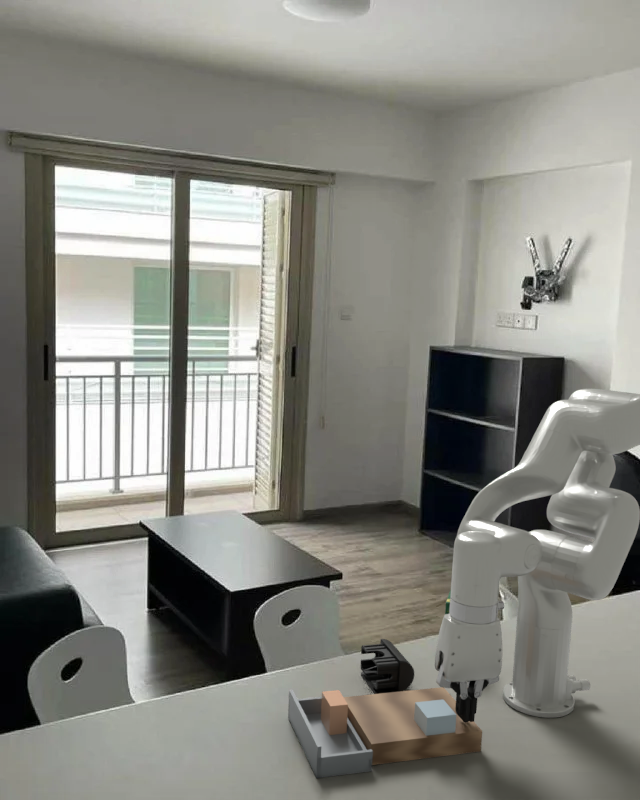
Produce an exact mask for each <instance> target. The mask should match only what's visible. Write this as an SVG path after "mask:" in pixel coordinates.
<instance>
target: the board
mask: <svg viewBox="0 0 640 800" xmlns="http://www.w3.org/2000/svg"><path fill="white" fill-rule="evenodd" d="M343 697H344V699H345V700H346V702H347V704H348V715H347V717H348V719H349V721H350V722H351V724H352V726H353V727H354V729H355V731H356V732H357V734H358V736H359V737H360V739H361V741H362V742H363V744H364V746H365V747H366V749H367V750H370V749H372V751H373V758H372V766H375V765H383V764H390V763H399V762H407V761H413V760H414V761H417V760H423V759H430V758H440V757H445V756H446V757H447V756H454V755H462V754H471V753H479V752H482V743H483V742H482V741H483V740H482V739H483V730H482V729H481V728H480V727H479V725H478V724H477V723H476V722H475V721H474V722H470V721H468V722H466V723H464V722H463V720H462V719H461V718H460V717H459V716H458V715H457V713H456V710H455V707H456V699H455V698H454V697H453V696H452V695H451V693H449V691H448V690H447V688H443V687H440V686H439V687H434V688H433V687H431V688H430V687H429V688H422V689H412V690H404V691H400V692H390V693H380V694H374V693H372V694H364V695H363V694H362V695H352V696H343ZM433 700H444V701H445V702H446V703H447V704H448V705H449V707H450V708H451V709H452V710H453V711H454V712H455V714H456V728H455V732H454V733H445V734H437V735H428V736H426V735H425V734H424V732H423V731H422V730H421V728H420V727H419V726H418V724H417V723H416V722H415V720H414V713H415V702H424V701H433Z"/></svg>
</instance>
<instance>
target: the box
mask: <svg viewBox="0 0 640 800" xmlns="http://www.w3.org/2000/svg"><path fill="white" fill-rule="evenodd" d="M321 705H322V696H314V697H305V698H304V697H303V698H298V697H297V696H296V694H295V692H294V689H289V691H288V709H287V711H288V713H287V715H288V716H287V718H288V721H289V722H290V724H291V727H292V729H293V730H294V734H295V736H296V738H297V740H298V742H299V744H300V746H301V748H302V750H303V752H304V755H305V757H306V759H307V761H308V763H309V766H310V768H311V770H312V772H313V774H314V776H315V778H316V779H320V778H329V777H336V776H342V775H345V776H346V775H350V774H360V773H366V772H367V773H368V772H372V771H373V765H372V758H373V751H372V749H370V750H367V749H366V747H365V746H364V744H363V742H362V741H361V739H360V737H359V736H358V734H357V732H356V731H355V729H354V727H353V726H352V724H351V722H350V721H349V719H348V717H347V733H344V734H335V735H329V734H328V732H327V730H326V728H325V726H324V725H323V723H322V721H321Z"/></svg>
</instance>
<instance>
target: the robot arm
mask: <svg viewBox="0 0 640 800" xmlns="http://www.w3.org/2000/svg"><path fill="white" fill-rule="evenodd" d="M638 446H640V393H637V392H636V393H634V392H626V391H625V392H624V391H619V390H612V389H601V388H582V389H577V390H575V391H573V392H572V393H571V394H570V396H569V397H568V399H560V400H557V401H554V402H553V403H552V404H551V405H549V406H548V408H547V409H546V411H545V413H544V415H543V417H542V419H541V420H540V423H539V425H538V427H537V428H536V430H535V432H534V434H533V436H532V438H531V441H530V442H529V444H528V446H527V448H526V450H524V453H523V455H522V458H521V459H520V461H519V463H518V464H517V465H516V466H515V467H513V468H512V469H510V470H508V471H507V472H505V473H503V474H501V475H500V476H498V477H497V478H495V479H493V480H492V481H490V482H489V483H488V484H487V485H486V486H484V487H483V488H482V489H481V490H480V491H478V493H477V494H476V495H475V496H474V498H473V499H472V501H471V503H470V505H469V506H468V508H467V510H466V512H465V515H464V516H463V518H462V520H461V522H460V524H459V527H458V529H457V533H456V536H455V540H454V542H453V543H454V544H453V553H452V554H453V555H452V568H451V569H452V570H451V584H450V590H451V596H450V609H449V614H445V613H444V615H443V617H442V621H441V625H440V628H439V631H438V635H437V637H438V638H437V642H436V649H435V655H434V656H435V658H434V668H435V670H436V671H438V673H437V678H436V681H435V682H436V684H437V685H438V686H439V688H440V687H443V688H445V689H451V690H452V691H454V692H455V693H456V695H455V696H456V697H455V701H456V707H455V710H456V713H457V715H458V716H459V717H460V718H461V719H462V720H463V722H464V723H466V722H468V721H470V722H475V716H476V714H477V708H478V699H479V698H480V697H481V695H482V692H483V691H484V690H485V689H486V688H487V687H488V686H489V685H492V684H496V683H499V681H500V675H501V672H502V668H503V667H502V666H503V634H502V627H501V626H502V625H501V620H500V618H499V611H500V610H504V609H505V603H504V601H503V600H499V591H500V581H501V578H509V577H510V578H511V577H513V578H515V577H517V582H518V598H517V599H518V600H517V602H518V603H517V611H516V612H517V613H516V614H517V615H516V627H515V628H516V629H515V643H514V654H513V655H514V656H513V669H512V681H509V682H508V683H506V684H505V685H503V688H502V698H503V700H504V701H505V703H506V704H507V705H508V706H509V707H511V708H512V709H514V710H516V711H517V712H518V711H519V712H521V713H522V714H525V715H529V716H532V717H538V718H547V719H548V718H549V719H550V718H561V717H565V716H567V715H568V714H570V713H572V711H573V710H574V708H575V698H574V697H573V695H572V694H575V693H576V692H578V691H579V692H582V691H590V690H591V682H590V681H589V679H587V678H585V679H577V678H576V676H575V675H572V674H571V675H569V664H570V662H569V661H570V653H571V652H570V650H571V649H570V648H571V637H572V625H573V607H572V602H571V600H570V597H569V594H570V595H574V596H577V597H581V598H583V599H587V600H590V601H591V600H592V601H601V600H602V599H604V598H606V597H607V596H608V595H609V594H610V593H611V592H612V589H613V588H614V586H615V584H616V582H617V580H618V578H619V575H620V574H621V571H622V568H623V566H624V563H625V562H626V559H627V557H628V554H629V552H630V550H631V548H632V546H633V543H634V540H635V538H636V535H637V533H638V529H639V525H640V506H639V502H638V501H637V500H636V498H635V497H634V496H633V495H632V494H631V493H629V492H626V491H624V490H621V489H618V488H613V487H610V486H611V483H612V481H613V479H614V477H615V473H616V469H617V468H616V461H615V459H614V455H618V454H621V453H625V452H626V451H627V452H628V451H629V450H631V449H634V448H636V447H638ZM549 496H550V499H549V501H548V504H547V507H546V518H547V520H548V522H549V523H550V524H551V525H552V526H553V527H555V528H556V529H558V530H561V531H564V532H566V533H570V534H573V535H577V536H581V537H585V538H589V539H593V541H588V540H585V539H582V538H577V537H574V536H572V535H568V534H564V533H561V532H557V531H552V530H547V529H533V530H531V531H528V530H525V529H521V528H517V527H513V526H510V525H506V524H504V523H501V522H496V519H497V518H498V517H499V515H500V514H502V512H504V511H505V510H506V509H509V508H510V507H512V506H514V505H516V504H518V503H522V502H525V501H530V500H535V499H539V498H544V497H549Z"/></svg>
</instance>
